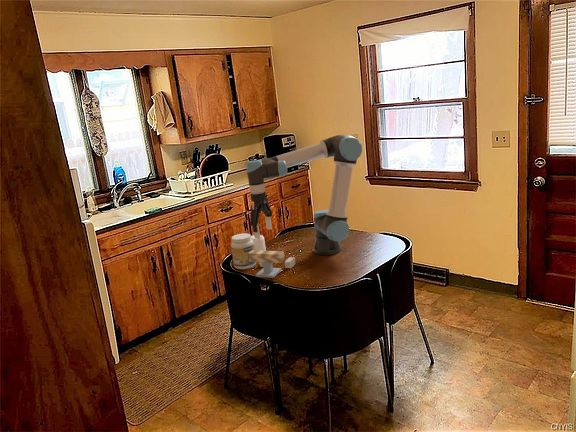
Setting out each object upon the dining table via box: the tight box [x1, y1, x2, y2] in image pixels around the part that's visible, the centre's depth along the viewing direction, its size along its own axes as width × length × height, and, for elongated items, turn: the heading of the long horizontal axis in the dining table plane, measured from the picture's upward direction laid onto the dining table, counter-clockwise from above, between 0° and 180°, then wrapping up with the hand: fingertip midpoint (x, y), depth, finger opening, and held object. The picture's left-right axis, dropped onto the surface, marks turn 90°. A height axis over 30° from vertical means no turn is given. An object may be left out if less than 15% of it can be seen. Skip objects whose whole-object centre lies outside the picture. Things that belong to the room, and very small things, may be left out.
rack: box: [258, 256, 296, 269], centre depth 247 cm, size 18×6×4 cm, turn 66°
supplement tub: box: [230, 233, 257, 270], centre depth 250 cm, size 12×12×17 cm
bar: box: [248, 250, 286, 264], centre depth 236 cm, size 18×4×4 cm, turn 66°
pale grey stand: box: [255, 262, 282, 279], centre depth 237 cm, size 10×10×7 cm
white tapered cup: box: [251, 234, 267, 251], centre depth 262 cm, size 8×8×12 cm
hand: (263, 233), depth 232 cm, fingers open, 13 cm apart
